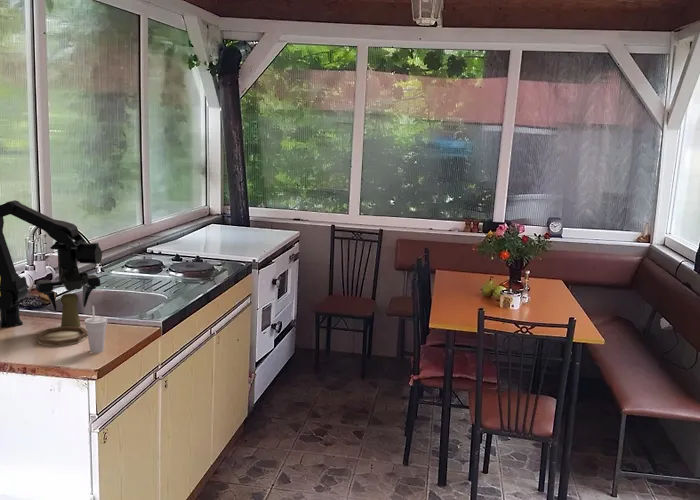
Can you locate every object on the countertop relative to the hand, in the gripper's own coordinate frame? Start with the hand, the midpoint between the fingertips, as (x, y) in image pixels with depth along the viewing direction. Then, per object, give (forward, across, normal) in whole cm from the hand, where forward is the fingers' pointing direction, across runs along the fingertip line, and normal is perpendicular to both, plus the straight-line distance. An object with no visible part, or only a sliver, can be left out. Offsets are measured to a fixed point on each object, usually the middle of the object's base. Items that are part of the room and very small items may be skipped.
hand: (69, 308), depth 212 cm
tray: (+6, -5, -11) cm, 13 cm away
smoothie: (+6, +1, -27) cm, 28 cm away
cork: (+6, 0, 0) cm, 6 cm away
